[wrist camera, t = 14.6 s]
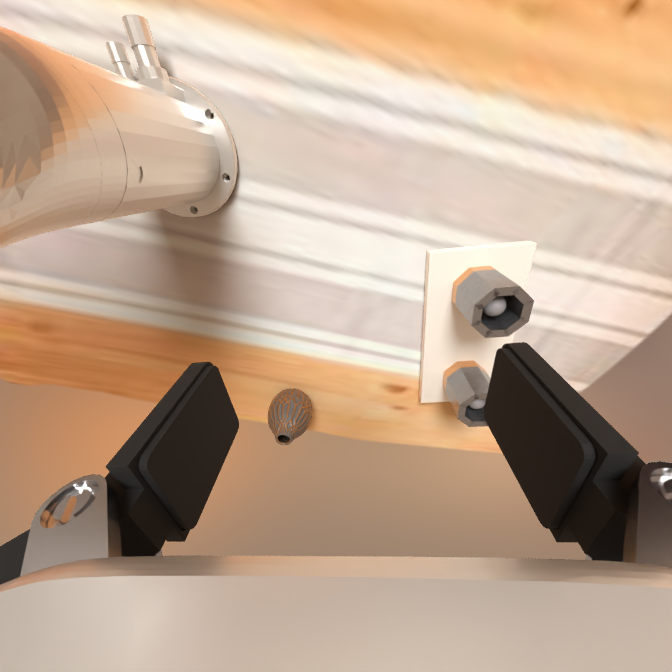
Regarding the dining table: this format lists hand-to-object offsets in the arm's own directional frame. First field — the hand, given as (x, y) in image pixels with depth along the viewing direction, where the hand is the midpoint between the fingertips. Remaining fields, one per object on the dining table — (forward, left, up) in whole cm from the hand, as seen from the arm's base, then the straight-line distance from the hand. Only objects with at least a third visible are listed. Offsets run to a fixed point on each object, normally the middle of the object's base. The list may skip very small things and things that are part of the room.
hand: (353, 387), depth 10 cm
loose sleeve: (+8, +15, -27) cm, 32 cm away
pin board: (+15, +15, -28) cm, 35 cm away
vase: (+26, -12, -28) cm, 40 cm away
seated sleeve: (+22, +15, -27) cm, 38 cm away
